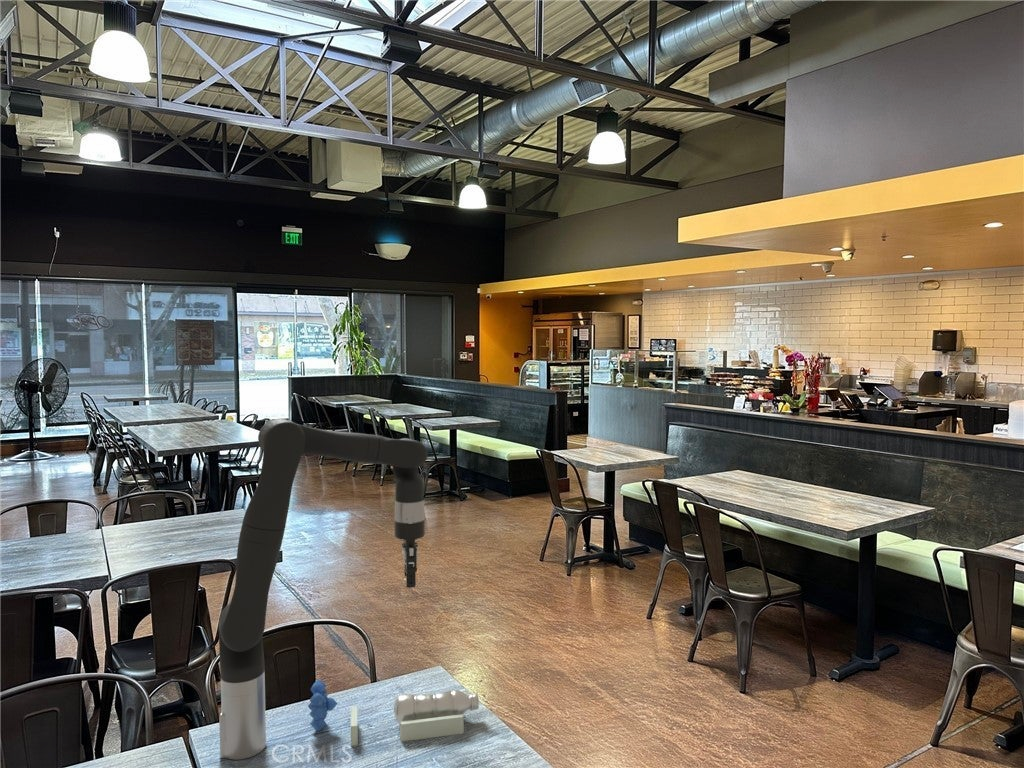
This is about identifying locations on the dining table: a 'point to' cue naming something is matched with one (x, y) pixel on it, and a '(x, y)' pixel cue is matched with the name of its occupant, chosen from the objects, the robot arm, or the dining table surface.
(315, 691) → the grapes
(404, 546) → the robot arm
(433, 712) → the silver metal bottle
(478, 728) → the dining table surface
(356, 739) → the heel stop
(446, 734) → the cradle
